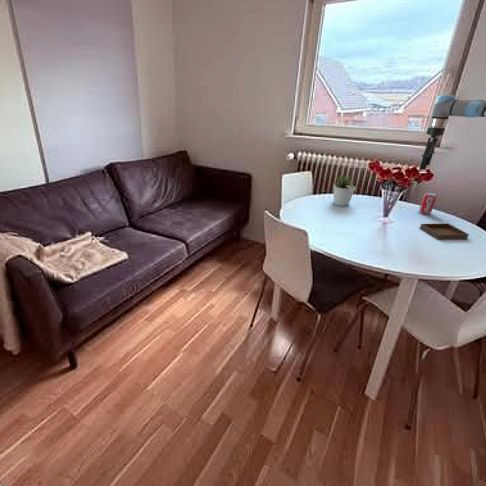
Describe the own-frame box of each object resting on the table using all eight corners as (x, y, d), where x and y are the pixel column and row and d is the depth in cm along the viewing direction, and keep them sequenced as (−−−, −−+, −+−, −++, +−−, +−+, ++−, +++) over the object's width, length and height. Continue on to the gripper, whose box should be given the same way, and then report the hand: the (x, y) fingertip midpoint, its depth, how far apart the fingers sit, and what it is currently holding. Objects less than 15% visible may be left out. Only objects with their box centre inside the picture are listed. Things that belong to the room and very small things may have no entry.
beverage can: (433, 214, 182) (440, 195, 177) (424, 215, 180) (431, 196, 175) (424, 210, 187) (430, 191, 182) (415, 211, 186) (421, 192, 181)
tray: (467, 239, 153) (468, 234, 152) (437, 239, 152) (439, 234, 151) (446, 227, 165) (448, 223, 164) (419, 228, 164) (421, 223, 163)
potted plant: (327, 199, 203) (333, 169, 195) (350, 201, 200) (356, 171, 191) (329, 206, 192) (334, 174, 184) (352, 208, 189) (360, 176, 180)
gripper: (431, 124, 173) (420, 162, 182) (424, 128, 156) (412, 170, 165) (448, 125, 169) (435, 164, 178) (442, 129, 151) (428, 172, 160)
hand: (424, 167), depth 171 cm, fingers open, 13 cm apart
